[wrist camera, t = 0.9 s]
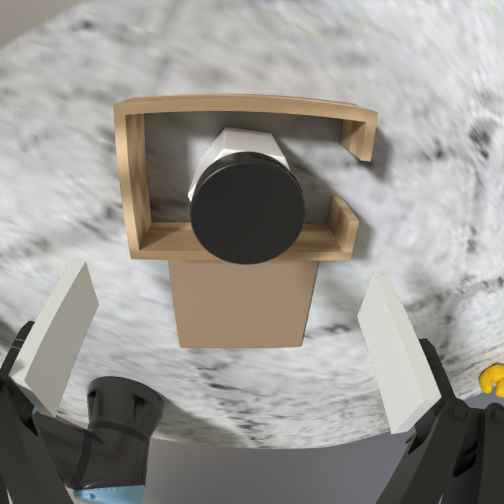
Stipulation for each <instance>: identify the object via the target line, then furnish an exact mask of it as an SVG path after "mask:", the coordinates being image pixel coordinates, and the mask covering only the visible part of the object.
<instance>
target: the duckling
mask: <svg viewBox="0 0 504 504" xmlns="http://www.w3.org/2000/svg"><path fill="white" fill-rule="evenodd" d="M492 383H497V385H496V395H497V396H500V397H504V366H503V365H500V364H495V365H493V366H491V367H489V368H487V369H486V370H485V371H484V372H483V373H482V375H481V377H480V379H479V385H480V387H481V389H482V391H483V392H485V393H490V392H491V390H492Z"/></svg>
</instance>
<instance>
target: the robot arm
mask: <svg viewBox="0 0 504 504" xmlns="http://www.w3.org/2000/svg"><path fill="white" fill-rule="evenodd" d="M98 305H99V303H98V300H97V297H96V294H95V291H94V288H93V285H92V281H91V278H90V275H89V271H88V268H87V264H86V261H75V260H72V261H71V263H70V264H69V266H68V267H67V269H66V270H65V272H64V274H63V275H62V277H61V278H60V280H59V282H58V283H57V285H56V287H55V288H54V290H53V292H52V293H51V295H50V297H49V298H48V300H47V302H46V304H45V305H44V307H43V309H42V311H41V312H40V314H39V316H38V318H37V320H36V321H35V322H33V321H28V322H27V323H26V324H25V325H24V326H23V327H22V328H21V330H20V331H19V333H18V335H17V337H16V340H15V341H14V343H13V344H12V348H10V350H9V352H8V354H7V356H6V358H5V360H4V362H3V364H2V366H1V369H0V504H74V503H73V501H72V499H71V498H70V496H69V494H68V492H67V490H66V488H65V486H66V487H68V488H71V489H73V490H74V491H73V494H74V497H75V499H77V500H79V501H82V502H85V503H89V504H142V502H143V497H144V492H145V488H146V486H145V484H146V472H147V462H148V451H149V443H150V438H151V436H152V435H153V433H154V431H155V429H156V427H157V425H158V423H159V422H160V420H161V418H162V414H163V401H162V400H161V398H160V397H159V396H158V395H157V394H156V393H155V392H154V391H152V390H151V389H149V388H148V387H146V386H144V385H142V384H140V383H137V382H134V381H131V380H128V379H124V378H119V377H101V378H97V379H95V380H93V381H92V382H91V383H90V386H89V389H88V393H87V404H88V416H89V425H88V429H87V430H86V429H84V428H82V427H80V426H78V425H76V424H73V423H72V422H70V421H68V420H66V419H64V418H62V417H60V416H58V415H56V414H57V411H58V408H59V405H60V402H61V399H62V396H63V393H64V390H65V387H66V385H67V382H68V379H69V376H70V374H71V371H72V368H73V366H74V363H75V360H76V358H77V355H78V353H79V350H80V348H81V345H82V343H83V340H84V338H85V336H86V333H87V331H88V328H89V326H90V324H91V321H92V319H93V317H94V314H95V312H96V310H97V308H98ZM357 317H358V320H359V323H360V326H361V329H362V333H363V336H364V339H365V342H366V345H367V349H368V352H369V355H370V358H371V362H372V365H373V368H374V372H375V375H376V379H377V382H378V386H379V389H380V393H381V396H382V400H383V404H384V407H385V411H386V415H387V419H388V423H389V427H390V431H391V434H396V433H401V432H407V431H408V430H410V429H411V427H413V426H414V425H415V428H416V432H415V433H414V434H413V435H412V436H411V437H409V438H408V439H407V441H406V442H405V443H408V442H410V443H409V445H408V447H407V449H406V451H405V453H404V455H403V457H402V459H401V461H400V462H399V464H398V466H397V468H396V470H395V472H394V473H393V475H392V477H391V479H390V481H389V482H388V484H387V486H386V487H385V489H384V491H383V493H382V494H381V496H380V498H379V499H378V501H377V502H376V504H438V503H439V501H440V498H441V496H442V494H443V496H442V501H441V504H504V407H503V406H502V405H501V404H498V403H491V404H489V405H488V406H487V407H486V408H485V409H478V408H470V407H468V405H467V404H466V403H465V402H464V401H463V400H461V399H458V398H456V397H455V395H454V392H453V390H452V387H451V385H450V382H449V380H448V377H447V375H446V373H445V370H444V368H443V367H442V363H441V361H440V359H439V356H438V354H437V352H436V350H435V347H434V346H433V345H432V344H431V343H430V342H429V341H428V340H427V338H426V339H418V338H417V336H416V333H415V331H414V329H413V327H412V324H411V322H410V320H409V318H408V316H407V314H406V311H405V309H404V307H403V305H402V303H401V301H400V299H399V297H398V295H397V293H396V290H395V288H394V286H393V284H392V282H391V280H390V278H389V276H388V274H373V275H372V278H371V281H370V284H369V287H368V289H367V292H366V295H365V297H364V300H363V303H362V305H361V308H360V310H359V313H358V316H357Z"/></svg>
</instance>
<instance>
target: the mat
mask: <svg viewBox="0 0 504 504" xmlns="http://www.w3.org/2000/svg"><path fill="white" fill-rule="evenodd" d="M168 265H169V273H170V281H171V289H172V296H173V303H174V310H175V317H176V324H177V330H178V336H179V342H180V347H182V348H280V347H300V346H301V342H302V338H303V333H304V329H305V324H306V319H307V315H308V310H309V305H310V300H311V295H312V290H313V285H314V280H315V275H316V270H317V265H318V260H269V261H266V262H263V263H259V264H252V265H241V264H234V263H230V262H226V261H224V260H168Z"/></svg>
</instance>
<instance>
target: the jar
mask: <svg viewBox="0 0 504 504" xmlns="http://www.w3.org/2000/svg"><path fill="white" fill-rule="evenodd" d="M188 197H189V199H190V201H191V204H190V222H191V226H192V230H193V232H194V234H195V236H196V238H197V240H198V241H199V243H200V244H201V245H202V246H203V247H204V248H205V249H206V250H207V251H208V252H209V253H211V254H212V255H214V256H215V257H217V258H219V259H221V260H224V261H226V262H230V263H234V264H241V265H252V264H259V263H263V262H266V261H269V260H272V259H274V258H276V257H278V256H279V255H281V254H282V253H284V252H285V251H286V250H288V249H289V248H290V247H291V246H292V245H293V243H294V242H295V241H296V240H297V238H298V236H299V235H300V233H301V231H302V228H303V225H304V221H305V213H306V210H305V201H304V197H303V194H302V190H301V188H300V185H299V184H298V182H297V180H296V178H295V177H294V175H293V174H292V173H291V171H290V168H289V166H288V163H287V160H286V158H285V156H284V154H283V153H282V151H281V149H280V148H279V146H278V144H277V142H276V141H275V139H274V137H273V136H272V134H271V133H267V132H260V131H253V130H246V129H238V128H230V127H226V128H224V129H223V131H222V132H221V133H220V135H219V136H218V137H217V138H216V140H215V141H214V142H213V143H212V145H211V146H210V147H209V149H208V150H207V151H206V152H205V154H204V155H203V156H202V158H201V159H200V160H199V162H198V165H197V168H196V171H195V174H194V177H193V180H192V183H191V187H190V190H189V193H188Z"/></svg>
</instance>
